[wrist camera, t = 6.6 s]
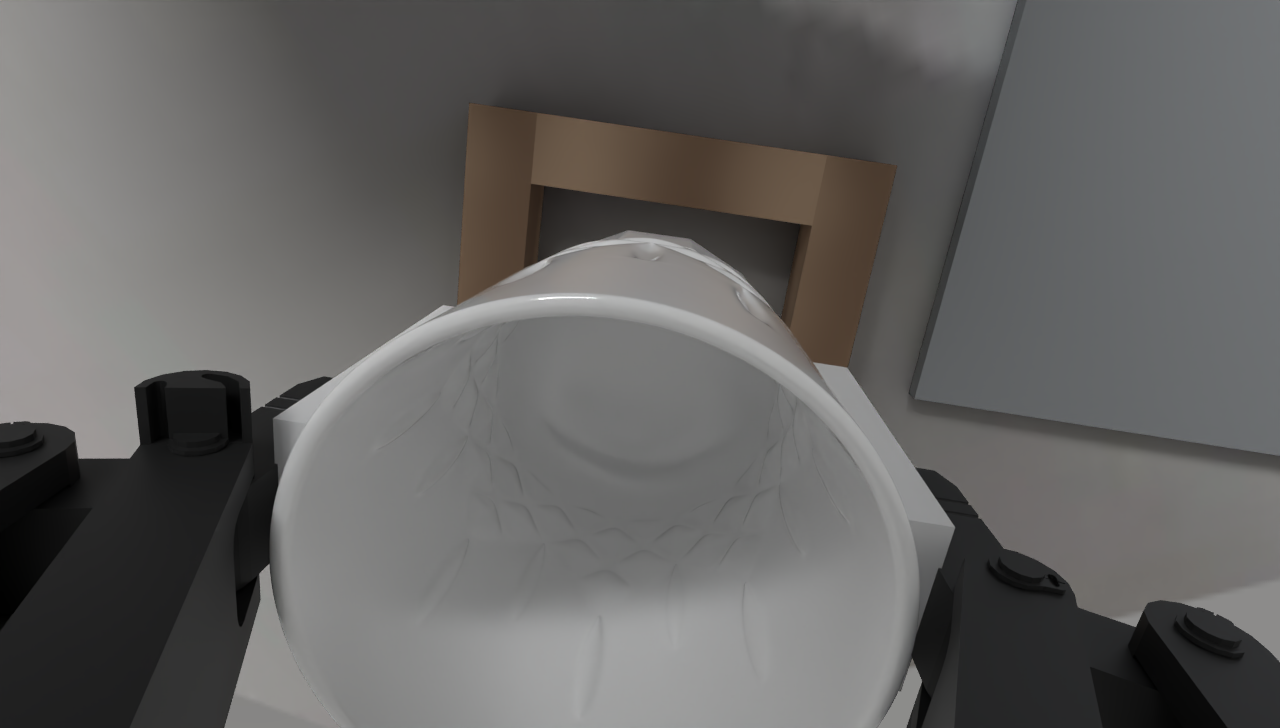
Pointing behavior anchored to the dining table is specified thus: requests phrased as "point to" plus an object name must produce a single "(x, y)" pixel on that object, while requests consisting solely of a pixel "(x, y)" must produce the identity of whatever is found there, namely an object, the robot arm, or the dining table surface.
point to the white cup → (595, 515)
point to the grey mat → (1122, 226)
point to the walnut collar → (678, 204)
